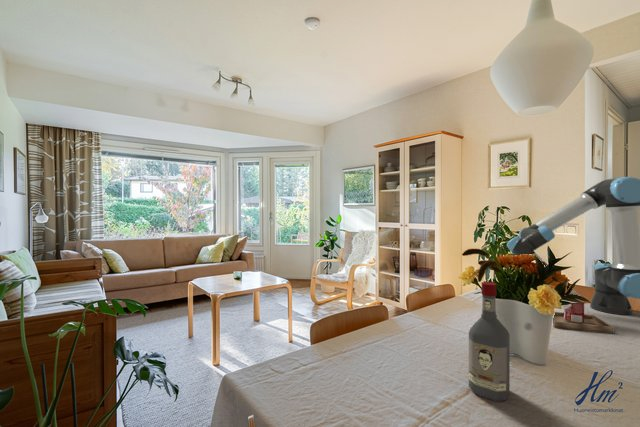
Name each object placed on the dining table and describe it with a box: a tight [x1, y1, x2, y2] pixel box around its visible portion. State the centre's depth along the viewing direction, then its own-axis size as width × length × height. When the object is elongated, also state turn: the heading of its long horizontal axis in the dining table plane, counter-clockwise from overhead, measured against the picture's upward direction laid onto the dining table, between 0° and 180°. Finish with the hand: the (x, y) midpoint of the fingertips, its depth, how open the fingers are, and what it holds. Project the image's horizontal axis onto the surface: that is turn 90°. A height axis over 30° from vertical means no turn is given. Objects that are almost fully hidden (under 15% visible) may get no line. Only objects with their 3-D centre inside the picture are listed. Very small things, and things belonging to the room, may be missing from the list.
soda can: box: [563, 292, 585, 324], centre depth 133 cm, size 7×7×12 cm
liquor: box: [468, 281, 511, 402], centre depth 84 cm, size 9×9×30 cm
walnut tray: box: [552, 311, 614, 334], centre depth 133 cm, size 20×15×2 cm
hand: (575, 304), depth 132 cm, fingers open, 13 cm apart
